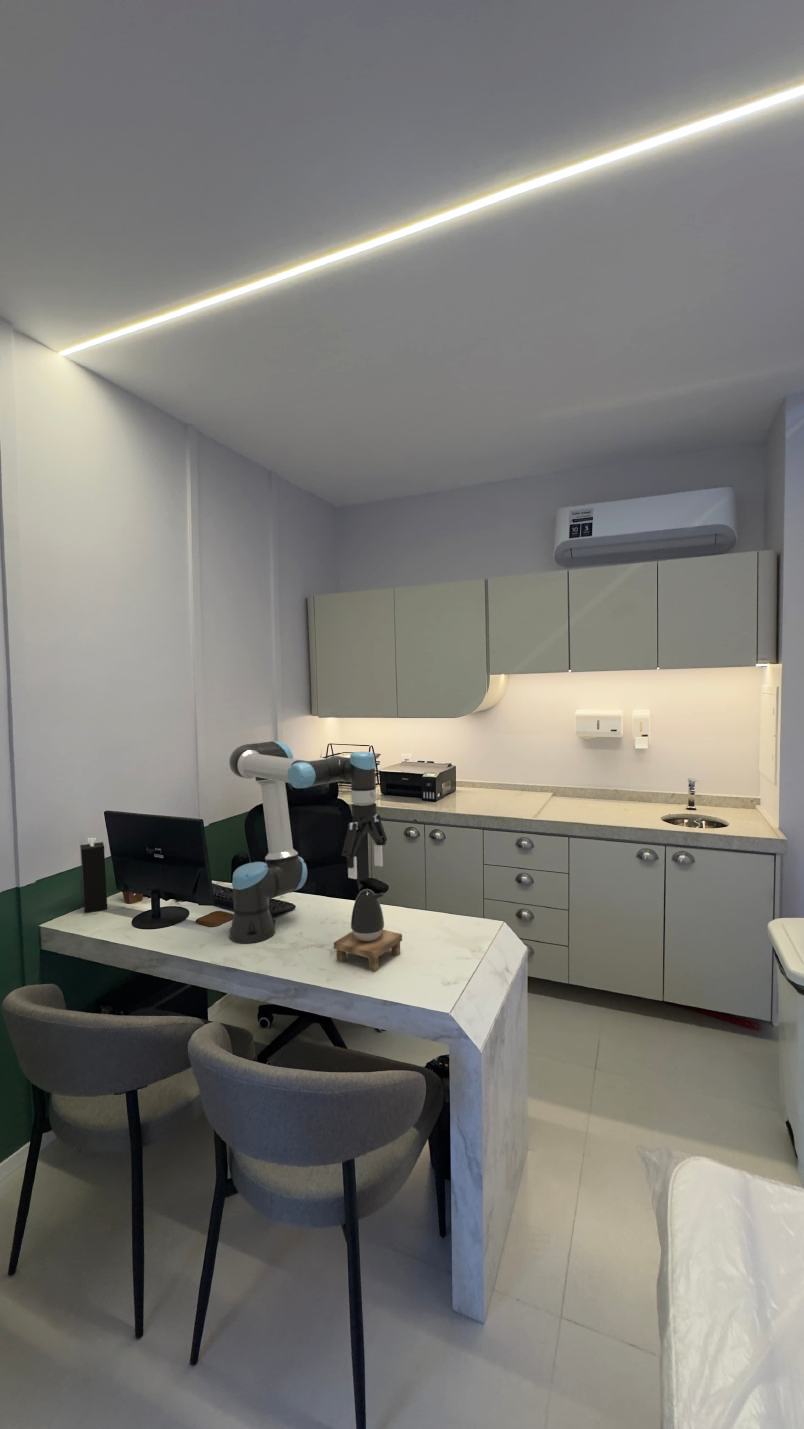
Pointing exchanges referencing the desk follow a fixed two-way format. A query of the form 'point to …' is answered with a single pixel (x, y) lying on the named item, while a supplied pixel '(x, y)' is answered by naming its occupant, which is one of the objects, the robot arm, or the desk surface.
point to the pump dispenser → (367, 916)
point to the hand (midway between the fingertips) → (366, 871)
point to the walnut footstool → (368, 947)
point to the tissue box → (93, 876)
